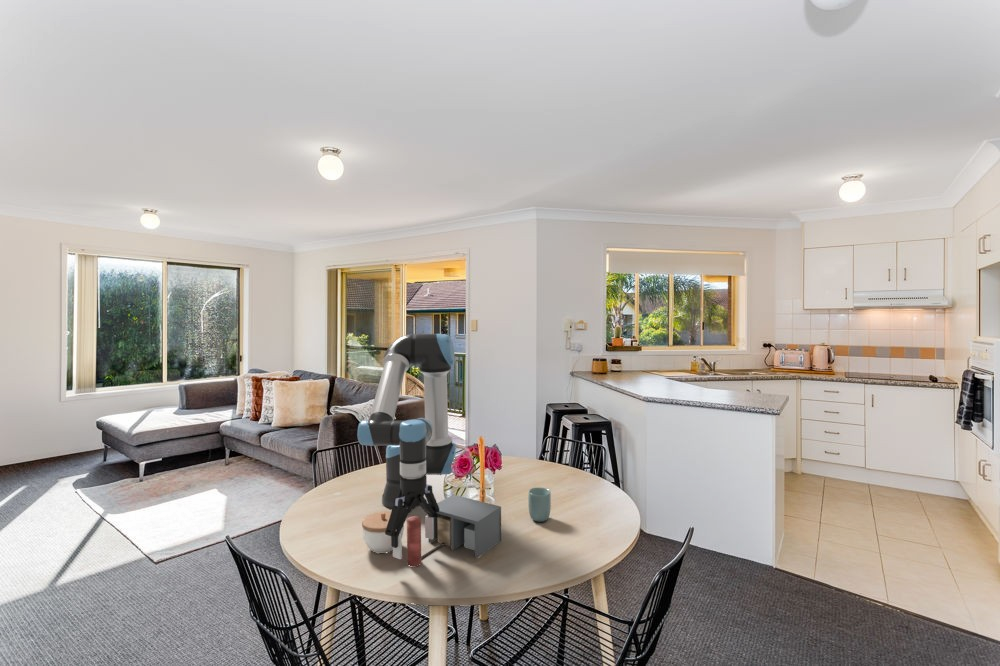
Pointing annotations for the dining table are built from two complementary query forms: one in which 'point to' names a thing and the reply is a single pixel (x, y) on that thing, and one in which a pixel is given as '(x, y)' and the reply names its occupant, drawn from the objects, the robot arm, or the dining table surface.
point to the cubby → (471, 522)
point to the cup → (539, 504)
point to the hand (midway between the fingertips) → (414, 547)
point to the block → (469, 536)
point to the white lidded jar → (377, 532)
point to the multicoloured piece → (415, 537)
